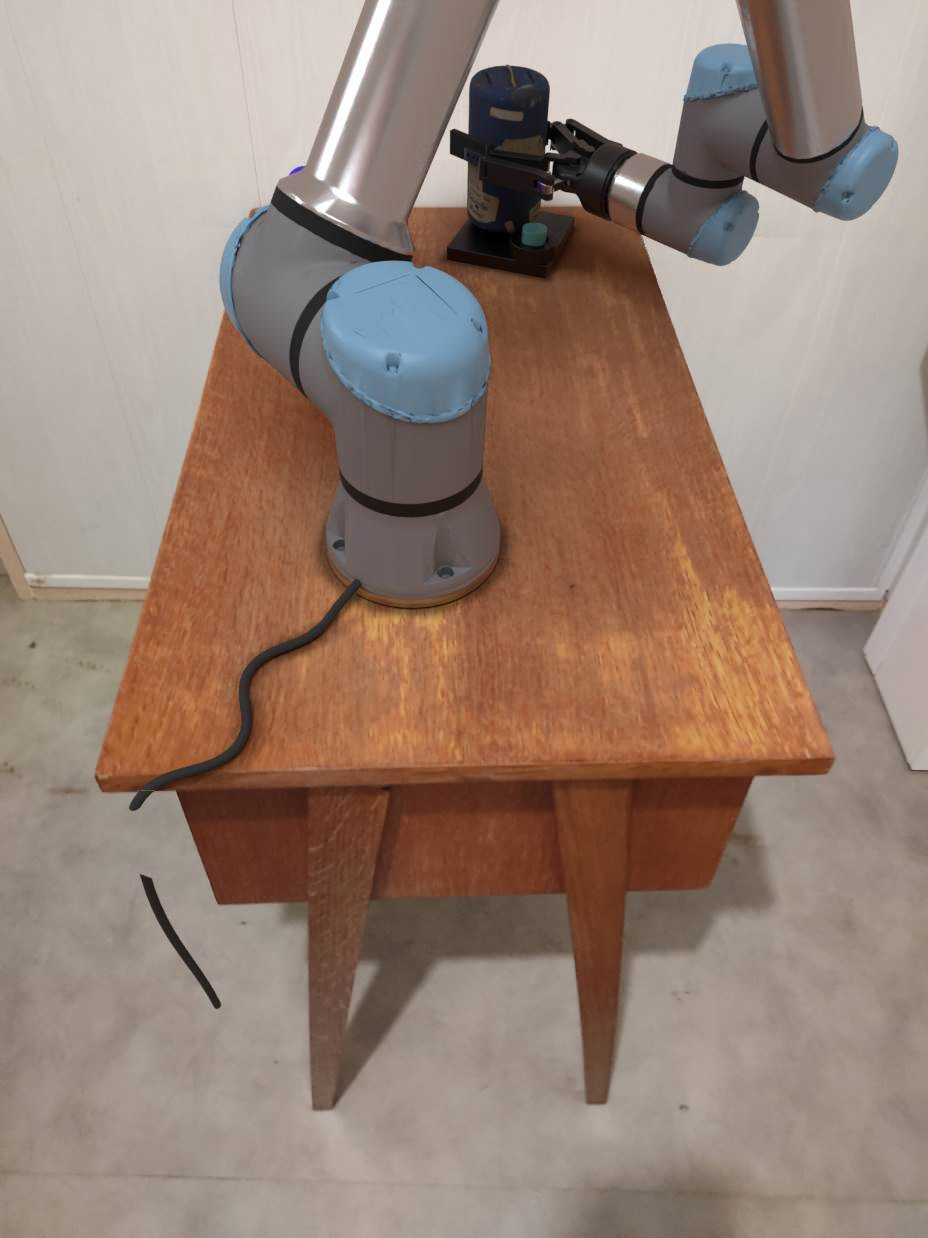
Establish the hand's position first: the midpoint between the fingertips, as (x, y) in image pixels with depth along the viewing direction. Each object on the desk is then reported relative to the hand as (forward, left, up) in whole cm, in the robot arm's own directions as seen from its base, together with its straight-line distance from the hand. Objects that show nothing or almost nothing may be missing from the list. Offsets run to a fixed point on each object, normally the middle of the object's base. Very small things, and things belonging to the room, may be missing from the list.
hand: (480, 129), depth 108 cm
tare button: (-8, -10, -9) cm, 16 cm away
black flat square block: (-4, -6, -12) cm, 14 cm away
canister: (-2, -4, -10) cm, 11 cm away
